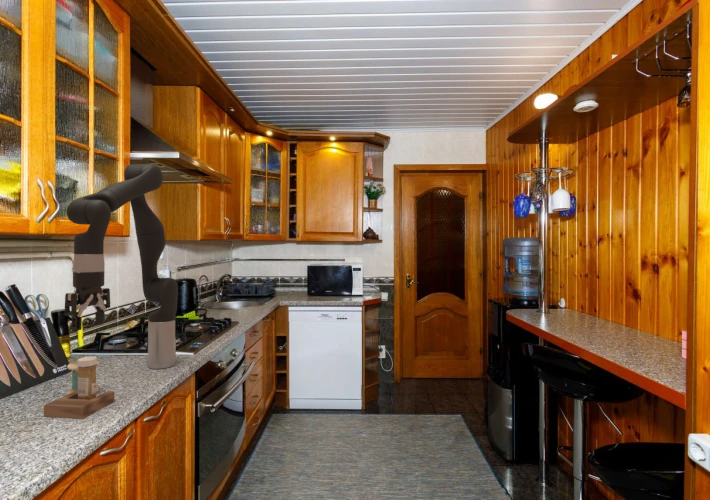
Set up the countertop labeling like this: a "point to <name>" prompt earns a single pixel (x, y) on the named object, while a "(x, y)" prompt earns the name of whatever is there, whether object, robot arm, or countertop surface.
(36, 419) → the countertop surface
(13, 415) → the countertop surface
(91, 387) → the sprinkles bottle
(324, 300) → the countertop surface
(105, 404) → the c-shaped block
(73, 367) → the bobbin
